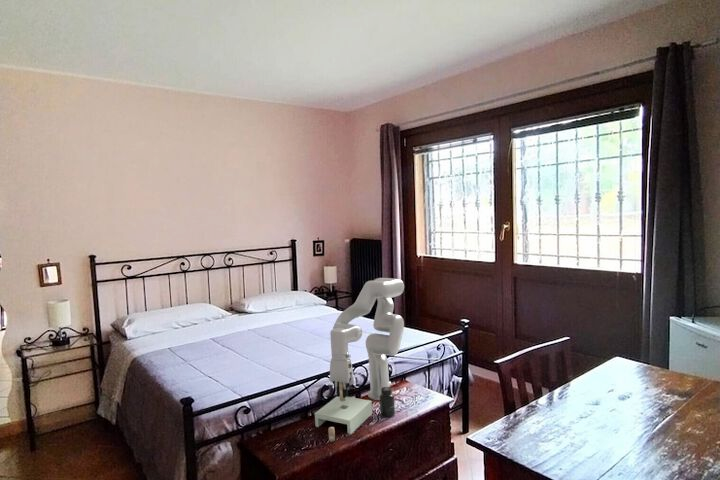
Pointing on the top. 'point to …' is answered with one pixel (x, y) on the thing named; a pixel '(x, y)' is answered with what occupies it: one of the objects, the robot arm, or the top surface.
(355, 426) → the plate
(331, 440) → the short birch pin
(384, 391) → the supplement bottle
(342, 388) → the long birch pin
